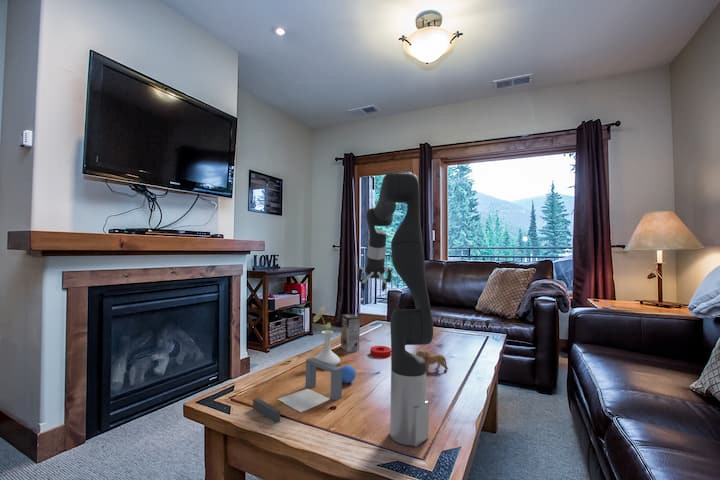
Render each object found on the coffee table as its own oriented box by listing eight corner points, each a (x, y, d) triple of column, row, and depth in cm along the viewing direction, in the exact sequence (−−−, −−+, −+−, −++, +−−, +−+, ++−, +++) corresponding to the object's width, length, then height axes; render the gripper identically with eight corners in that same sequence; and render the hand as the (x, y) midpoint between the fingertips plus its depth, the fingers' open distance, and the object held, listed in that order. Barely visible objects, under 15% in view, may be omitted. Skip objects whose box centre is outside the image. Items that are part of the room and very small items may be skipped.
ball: (359, 382, 124) (359, 365, 124) (347, 387, 120) (348, 370, 120) (347, 377, 128) (347, 362, 128) (335, 382, 124) (336, 365, 124)
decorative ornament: (368, 352, 161) (368, 345, 161) (387, 351, 163) (387, 345, 163) (372, 359, 151) (372, 352, 151) (393, 358, 153) (393, 351, 153)
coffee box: (340, 347, 168) (340, 314, 168) (352, 345, 170) (352, 313, 171) (347, 352, 159) (348, 318, 160) (359, 350, 162) (360, 317, 162)
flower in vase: (326, 358, 150) (327, 302, 150) (345, 364, 142) (347, 305, 143) (304, 366, 140) (305, 305, 140) (323, 373, 132) (325, 309, 133)
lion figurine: (418, 375, 132) (419, 352, 133) (412, 370, 137) (413, 348, 138) (451, 371, 137) (451, 349, 137) (444, 367, 142) (444, 345, 142)
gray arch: (312, 384, 121) (312, 357, 121) (341, 397, 111) (342, 368, 111) (305, 387, 119) (306, 359, 119) (334, 400, 109) (335, 370, 109)
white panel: (330, 399, 109) (330, 399, 109) (300, 412, 101) (300, 411, 101) (307, 388, 118) (307, 388, 118) (277, 399, 109) (277, 399, 109)
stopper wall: (279, 421, 95) (280, 410, 95) (275, 423, 94) (275, 412, 94) (257, 407, 103) (257, 397, 103) (252, 408, 102) (253, 398, 102)
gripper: (360, 258, 136) (357, 294, 142) (394, 259, 138) (390, 294, 143) (358, 251, 143) (356, 285, 149) (391, 252, 145) (387, 286, 150)
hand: (373, 290), depth 146 cm, fingers open, 8 cm apart
